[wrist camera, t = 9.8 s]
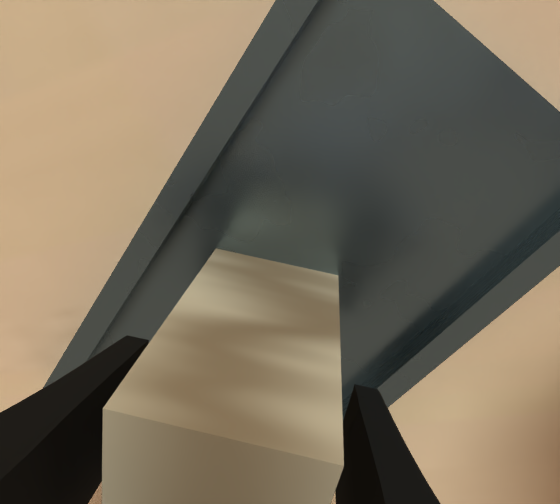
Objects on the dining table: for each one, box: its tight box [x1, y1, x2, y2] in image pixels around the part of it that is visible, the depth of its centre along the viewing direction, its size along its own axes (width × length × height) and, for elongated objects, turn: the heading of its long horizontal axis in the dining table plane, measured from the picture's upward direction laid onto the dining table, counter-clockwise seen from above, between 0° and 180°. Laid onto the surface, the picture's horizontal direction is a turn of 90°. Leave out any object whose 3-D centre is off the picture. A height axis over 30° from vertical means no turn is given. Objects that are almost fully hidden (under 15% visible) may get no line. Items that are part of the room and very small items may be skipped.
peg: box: [102, 249, 344, 504], centre depth 11 cm, size 4×4×7 cm
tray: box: [43, 0, 560, 420], centre depth 14 cm, size 10×20×2 cm, turn 144°
